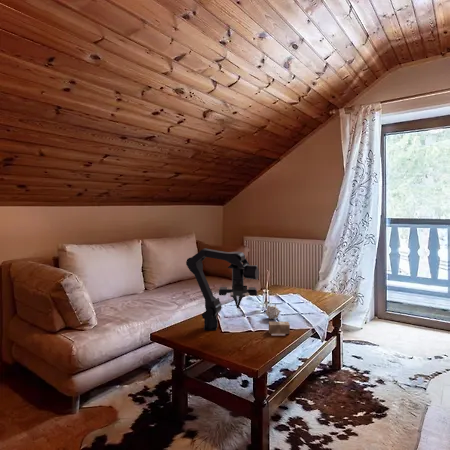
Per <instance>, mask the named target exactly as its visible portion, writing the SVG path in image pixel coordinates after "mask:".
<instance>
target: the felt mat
mask: <svg viewBox="0 0 450 450" xmlns="http://www.w3.org/2000/svg"><path fill="white" fill-rule="evenodd" d="M270 335H271V336H286V335H287V334H270Z"/></svg>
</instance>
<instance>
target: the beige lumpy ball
mask: <svg viewBox="0 0 450 450" xmlns="http://www.w3.org/2000/svg"><path fill="white" fill-rule="evenodd" d="M266 305H267V308H266V310H265V314H266V316H267V317H268V320H270V321H271V320H274V319H277V320H279V318H278V317H279V315H280V313H281V312H282V310H280V309H279V308H278V306H277V304H276V303H275V304H274V305H269V304H266Z"/></svg>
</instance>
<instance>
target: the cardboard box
mask: <svg viewBox="0 0 450 450" xmlns="http://www.w3.org/2000/svg"><path fill="white" fill-rule="evenodd" d="M290 330H291V325H290V322H289V321H268V333H269V334H270V335H271V334H285V335H290V333H291V331H290Z"/></svg>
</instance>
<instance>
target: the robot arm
mask: <svg viewBox="0 0 450 450" xmlns="http://www.w3.org/2000/svg"><path fill="white" fill-rule="evenodd" d="M206 258H210V259H216V260H221V261H226V262H228V263H229V264H230V265H229V266H228V267H227V268H228V269H231V271H232V272H231V288H228V287H227V286H220V287H219V289H218V295H219V296H226V295H228V294H230V298H232V299H233V300H234V303H235V307H236V309H239V308H240V304H241V302H242V300H243V298H245V297H246V294H248V295H250V296H255V297H257V296H258V291H257V287H255V286H247V285H244V279H248V280H255V281H256V280H258V279H259V278H260V277H259V276H260V271H259V267H258V265H256V264H255V265H252V264H250V263H249V261H248V260H247V258H246V255H245V253H244V252H242V251H229V252H228V251H222V250H216V249H210V248H208V247H207V248H202V249H201V250H199V251H198V252H197V253H195V254H194V255H193V256H191V257H188V258H187V259H186V261H185V265H186V267H187V268H188V270H189V271H190V273H192V274H193V275H194V277H195V281H196V282H197V284H198V287H199V289H200V292H201V294H202V296H203V299H204V308H205V311H204V312H203V313H202V314H201V316H202V319H203V321H204V322H203V324H204V325H203V330H204V331H217V328H218V326H219V324H218V321H219V319H218V318H217V315H219V313H220V312H221V311H222V305H223V303H221V301H220V298H219V297H217V298H216V296H214V294H213V292H212V289H211V287H210V285H209V282H208V279H207V277H206V275H205V273H204V270H203V269H204V268H203V267H204V265H203V261H204V260H205V259H206Z"/></svg>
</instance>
